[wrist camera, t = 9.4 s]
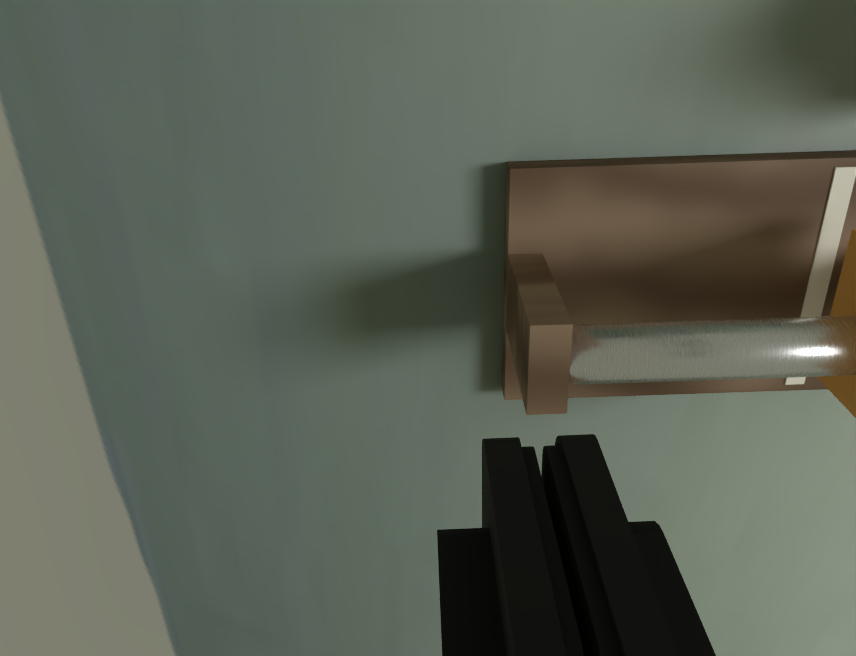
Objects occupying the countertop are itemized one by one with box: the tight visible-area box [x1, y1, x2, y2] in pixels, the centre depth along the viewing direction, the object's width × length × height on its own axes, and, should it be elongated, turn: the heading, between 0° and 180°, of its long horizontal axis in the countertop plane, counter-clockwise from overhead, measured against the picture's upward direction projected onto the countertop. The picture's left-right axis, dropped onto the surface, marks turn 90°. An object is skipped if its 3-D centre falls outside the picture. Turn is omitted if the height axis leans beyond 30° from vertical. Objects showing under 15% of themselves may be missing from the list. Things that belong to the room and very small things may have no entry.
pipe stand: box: [502, 150, 856, 415], centre depth 40 cm, size 15×25×11 cm, turn 92°
